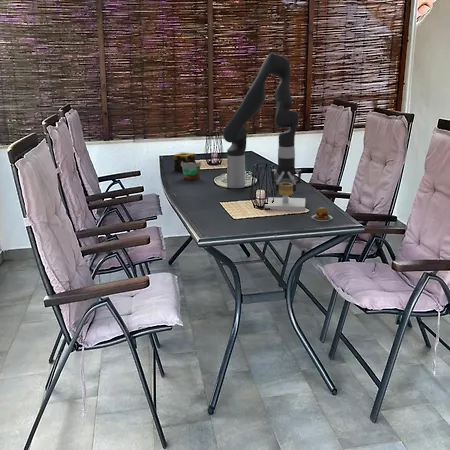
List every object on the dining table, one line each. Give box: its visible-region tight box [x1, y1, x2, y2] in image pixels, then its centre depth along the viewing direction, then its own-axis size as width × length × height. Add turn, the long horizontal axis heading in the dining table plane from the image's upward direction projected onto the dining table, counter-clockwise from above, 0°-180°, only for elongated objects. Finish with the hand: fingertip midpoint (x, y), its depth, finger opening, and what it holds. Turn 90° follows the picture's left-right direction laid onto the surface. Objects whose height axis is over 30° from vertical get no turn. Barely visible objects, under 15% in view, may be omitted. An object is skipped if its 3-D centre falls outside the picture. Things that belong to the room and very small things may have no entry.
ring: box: [278, 182, 294, 196], centre depth 231 cm, size 6×6×4 cm
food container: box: [181, 161, 202, 182], centre depth 287 cm, size 12×6×10 cm, turn 68°
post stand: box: [264, 195, 306, 212], centre depth 232 cm, size 18×14×9 cm
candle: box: [173, 152, 197, 172], centre depth 313 cm, size 10×10×10 cm
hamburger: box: [311, 206, 333, 222], centre depth 214 cm, size 12×12×6 cm
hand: (286, 191), depth 232 cm, fingers closed on ring, 6 cm apart
